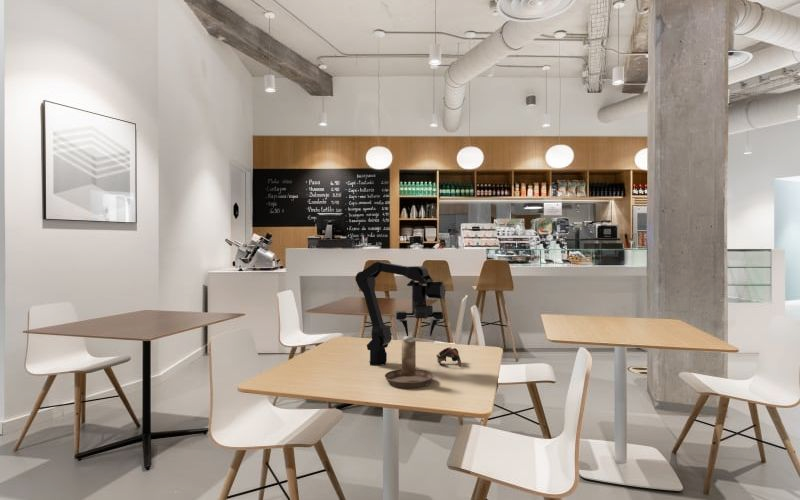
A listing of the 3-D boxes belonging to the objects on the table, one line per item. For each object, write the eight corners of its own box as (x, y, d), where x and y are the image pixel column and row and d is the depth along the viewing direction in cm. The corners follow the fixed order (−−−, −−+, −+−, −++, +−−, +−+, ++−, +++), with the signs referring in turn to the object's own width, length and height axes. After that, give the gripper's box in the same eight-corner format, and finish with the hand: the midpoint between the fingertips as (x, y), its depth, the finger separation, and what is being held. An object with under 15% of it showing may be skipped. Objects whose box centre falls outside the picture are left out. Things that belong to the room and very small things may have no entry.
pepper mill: (400, 375, 171) (400, 338, 171) (403, 371, 176) (403, 335, 175) (413, 377, 170) (413, 339, 169) (417, 372, 175) (417, 336, 174)
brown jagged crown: (459, 370, 192) (449, 352, 192) (440, 377, 197) (430, 360, 197) (468, 356, 203) (458, 339, 202) (450, 363, 207) (440, 347, 207)
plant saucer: (391, 392, 162) (391, 383, 162) (379, 378, 179) (379, 370, 179) (440, 388, 167) (440, 379, 167) (424, 375, 184) (424, 367, 184)
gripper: (397, 300, 182) (397, 340, 182) (446, 299, 184) (445, 340, 184) (395, 296, 193) (395, 335, 193) (440, 296, 195) (440, 334, 195)
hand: (418, 336), depth 191 cm, fingers open, 9 cm apart
